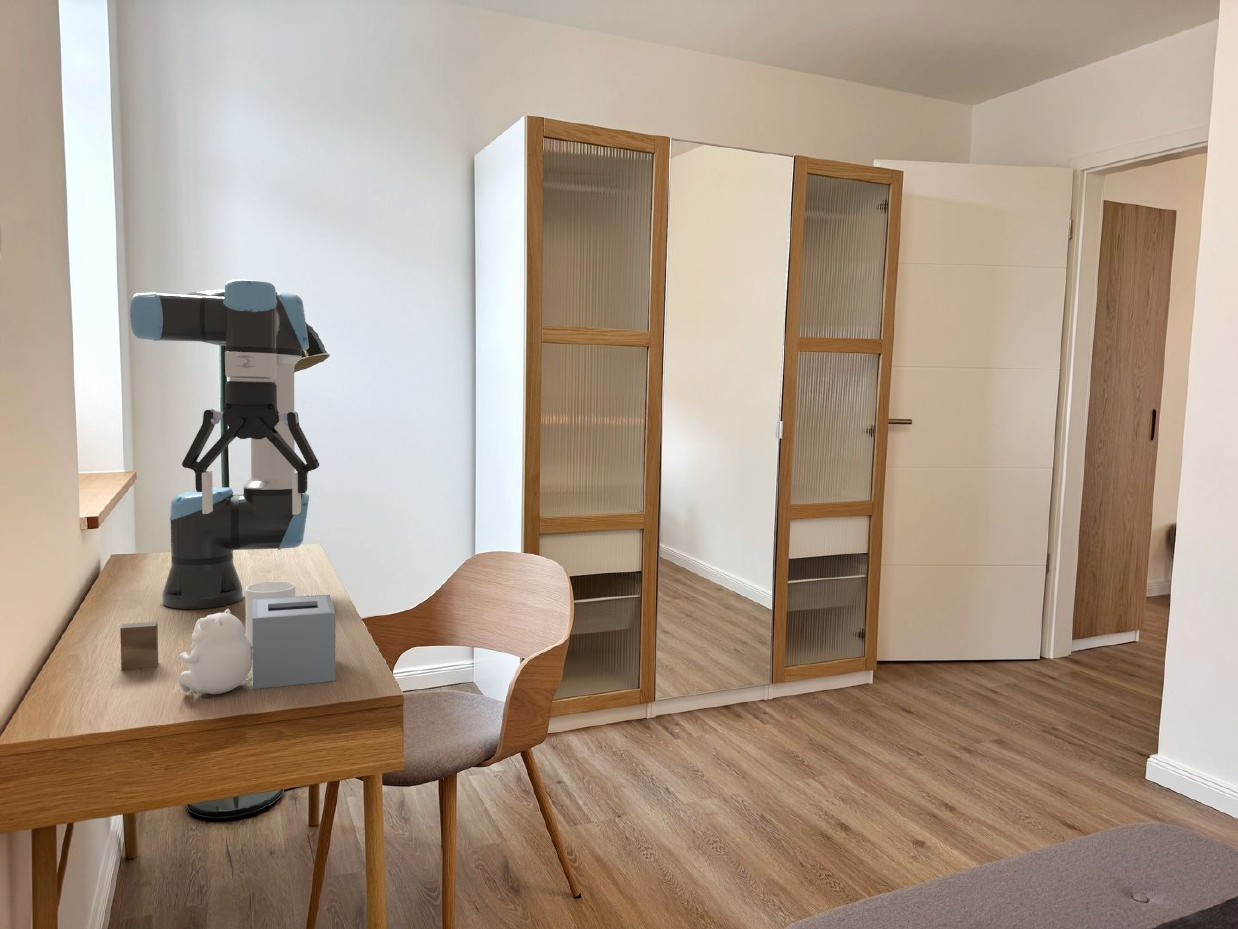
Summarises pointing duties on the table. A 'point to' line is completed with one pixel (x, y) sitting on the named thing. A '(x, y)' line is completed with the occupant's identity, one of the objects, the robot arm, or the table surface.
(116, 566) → the table surface
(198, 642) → the figurine
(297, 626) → the coin box
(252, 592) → the cup
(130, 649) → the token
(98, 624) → the table surface
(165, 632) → the table surface
